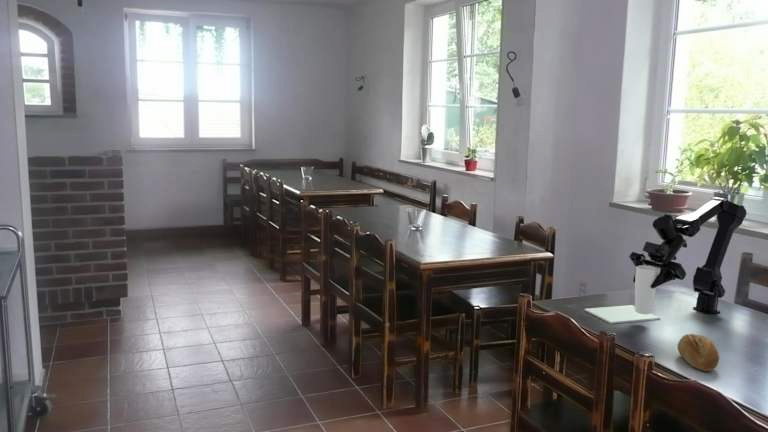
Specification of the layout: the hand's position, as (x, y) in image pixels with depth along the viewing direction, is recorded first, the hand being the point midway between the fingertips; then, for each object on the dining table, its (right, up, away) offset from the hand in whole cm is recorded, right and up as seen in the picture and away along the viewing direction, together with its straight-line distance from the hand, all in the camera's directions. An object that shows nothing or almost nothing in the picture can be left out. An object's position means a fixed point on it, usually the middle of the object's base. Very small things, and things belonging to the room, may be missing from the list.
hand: (642, 284), depth 212 cm
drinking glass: (+1, -9, +2) cm, 10 cm away
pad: (-3, -11, +11) cm, 16 cm away
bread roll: (+3, -19, -30) cm, 35 cm away
